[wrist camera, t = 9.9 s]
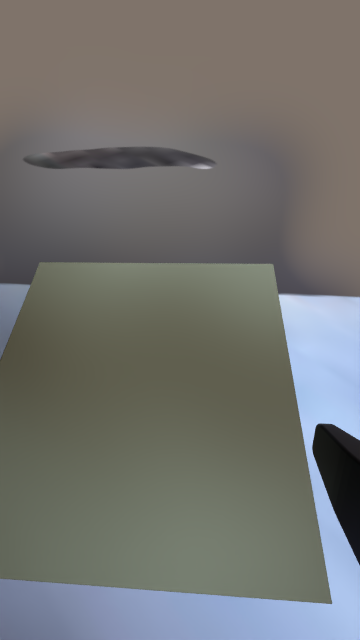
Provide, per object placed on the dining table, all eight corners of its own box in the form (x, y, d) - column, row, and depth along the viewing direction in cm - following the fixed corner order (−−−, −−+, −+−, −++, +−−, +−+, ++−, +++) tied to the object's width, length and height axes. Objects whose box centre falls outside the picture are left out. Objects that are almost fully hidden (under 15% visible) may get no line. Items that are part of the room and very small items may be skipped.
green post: (219, 490, 14) (332, 604, 3) (130, 485, 14) (-87, 572, 3) (217, 398, 17) (272, 264, 5) (141, 396, 17) (39, 262, 6)
